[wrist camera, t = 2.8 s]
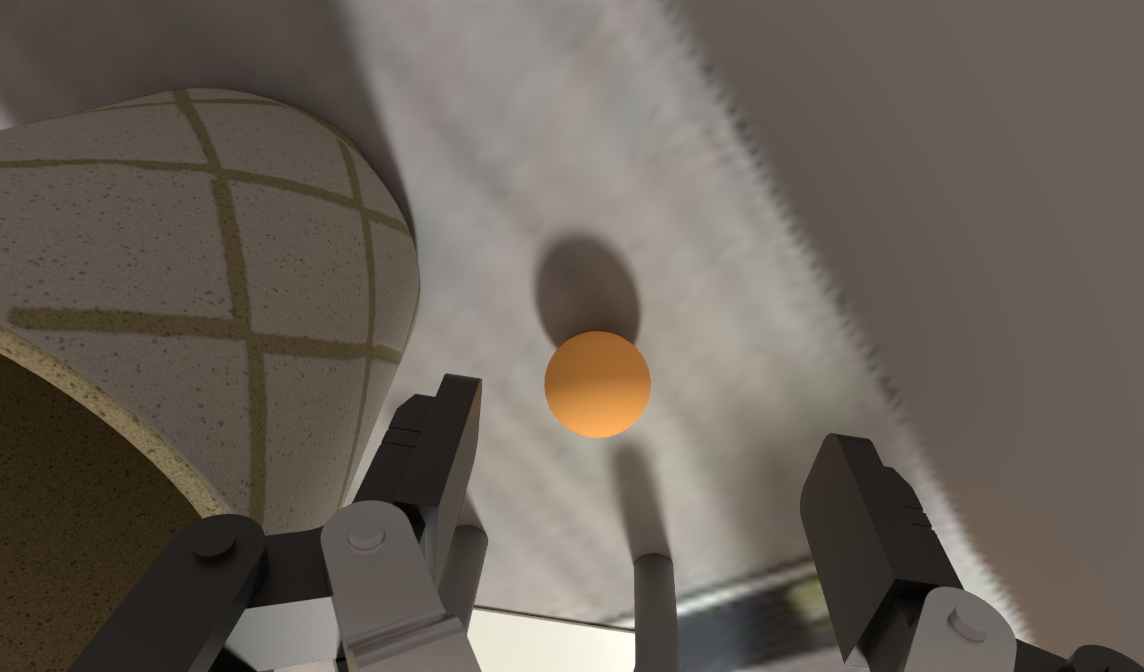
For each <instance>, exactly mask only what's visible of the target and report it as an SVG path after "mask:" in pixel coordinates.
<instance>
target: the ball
mask: <svg viewBox="0 0 1144 672" xmlns="http://www.w3.org/2000/svg"><path fill="white" fill-rule="evenodd" d="M544 386H545V395H546V399H547V402H548V404H549V407H550V409H551V411H552V412H553V414H554V415H555V417H556V418H557V419H558V420H559V421H560V422H561V423H562V424H563V425H564V426H565V427H567V428H568V429H569V430H571V431H573V432H575V433H577V434H580V435H583V436H587V437H594V438H602V437H609V436H613V435H616V434H618V433H620V432H622V431H624V430H626V429H628V428H629V427H630V426H632V425H633V424H634V423H635V422H636V421H637V420H638V419H639V417H640V416H641V415H642V413H643V411H644V409H645V408H646V406H647V403H648V400H649V396H650V390H651V380H650V373H649V369H648V366H647V364H646V362H645V360H644V358H643V356H642V355H641V353H640V352H639V351H638V349H637V348H636V347H635V346H634V345H633V344H631V343H630V342H629V341H627V340H626V339H624V338H623V337H621V336H618V335H616V334H613V333H609V332H603V331H592V332H586V333H582V334H579V335H577V336H574V337H573V338H571V339H569V340H568V341H566V342H565V343H564V344H562V345H561V346H560V347H559V348H558V349H557V351H556V352H555V353H554V355H553V356H552V358H551V360H550V362H549V364H548V367H547V370H546V374H545V385H544Z"/></svg>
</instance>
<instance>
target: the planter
mask: <svg viewBox="0 0 1144 672" xmlns="http://www.w3.org/2000/svg"><path fill="white" fill-rule="evenodd" d="M419 300H420V272H419V264H418V259H417V253H416V250H415V246H414V242H413V239H412V237H411V234H410V231H409V228H408V226H407V224H406V222H405V219H404V217H403V215H402V213H401V211H400V209H399V208H398V206H397V204H396V202H395V201H394V199H393V198H392V196H391V194H390V193H389V191H388V190H387V188H386V187H385V186H384V184H383V183H382V181H381V180H380V179H379V177H378V176H377V175H376V173H375V172H374V171H373V169H372V168H371V167H370V165H369V164H368V163H367V161H366V160H365V159H364V157H363V156H362V154H361V153H360V151H359V149H358V148H357V146H356V145H355V143H354V142H353V141H352V140H351V139H350V138H349V137H348V136H347V135H346V134H344V133H343V132H342V131H340V130H339V129H337V128H336V127H335V126H333V125H331V124H330V123H328V122H326V121H325V120H323V119H321V118H319V117H317V116H315V115H313V114H311V113H309V112H306V111H304V110H302V109H299V108H297V107H294V106H291V105H288V104H286V103H283V102H279V101H276V100H273V99H270V98H266V97H262V96H258V95H254V94H250V93H245V92H240V91H234V90H226V89H213V88H191V89H180V90H172V91H166V92H161V93H156V94H152V95H148V96H144V97H140V98H136V99H132V100H128V101H124V102H120V103H116V104H112V105H108V106H103V107H99V108H95V109H91V110H86V111H82V112H78V113H74V114H70V115H65V116H61V117H57V118H53V119H48V120H44V121H40V122H36V123H31V124H27V125H22V126H18V127H13V128H9V129H4V130H0V672H66V671H67V670H68V668H69V667H70V666H71V665H72V663H73V662H74V661H75V660H76V658H77V657H78V656H79V655H80V653H81V652H82V651H83V650H84V648H85V647H86V646H87V645H88V643H89V642H90V641H91V640H92V638H93V637H94V636H95V635H96V633H97V632H98V631H99V630H100V628H101V627H102V626H103V625H104V623H105V622H106V621H107V620H108V618H109V617H110V616H111V615H112V613H113V612H114V611H115V610H116V608H117V607H118V606H119V605H120V603H121V602H122V601H123V599H124V598H125V597H126V596H127V594H128V593H129V592H130V591H131V589H132V588H133V587H134V586H135V584H136V583H137V582H138V581H139V579H140V578H141V577H142V576H143V574H144V573H145V572H146V571H147V569H148V568H149V567H150V566H151V564H152V563H153V562H154V561H155V559H156V558H157V557H158V556H159V554H160V553H161V552H162V551H163V549H164V548H165V547H166V546H167V544H168V543H169V542H170V541H171V539H172V538H173V537H174V536H175V535H176V534H177V533H179V532H180V531H181V530H182V529H184V528H185V527H187V526H188V525H190V524H192V523H194V522H196V521H198V520H200V519H203V518H206V517H210V516H213V515H219V514H238V515H243V516H247V517H249V518H251V519H253V520H254V521H256V522H257V523H258V524H259V525H260V526H261V527H262V529H263V531H264V534H265V535H274V534H283V533H291V532H300V531H306V530H311V529H315V528H318V527H321V526H323V525H325V523H326V522H327V520H328V519H329V518H330V517H331V516H332V515H333V514H334V513H335V512H337V511H338V510H340V509H341V508H342V507H343V504H344V502H345V499H346V497H347V494H348V491H349V489H350V486H351V484H352V481H353V479H354V476H355V474H356V471H357V469H358V466H359V463H360V461H361V458H362V456H363V453H364V451H365V448H366V446H367V443H368V440H369V438H370V435H371V433H372V430H373V428H374V425H375V423H376V420H377V418H378V415H379V413H380V410H381V408H382V405H383V403H384V401H385V398H386V396H387V393H388V391H389V388H390V386H391V383H392V381H393V378H394V376H395V373H396V371H397V369H398V366H399V364H400V361H401V359H402V357H403V354H404V352H405V349H406V347H407V345H408V342H409V339H410V337H411V334H412V331H413V328H414V325H415V321H416V317H417V312H418V307H419Z"/></svg>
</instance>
